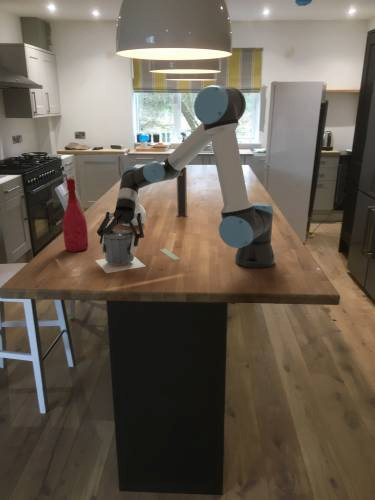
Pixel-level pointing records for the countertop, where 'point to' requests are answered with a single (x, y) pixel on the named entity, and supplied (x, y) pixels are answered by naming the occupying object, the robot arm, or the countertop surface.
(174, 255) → the mat
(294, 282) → the countertop surface
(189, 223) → the countertop surface
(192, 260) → the countertop surface
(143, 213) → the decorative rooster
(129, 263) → the board
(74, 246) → the wine bottle
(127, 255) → the grey ribbed cylinder
